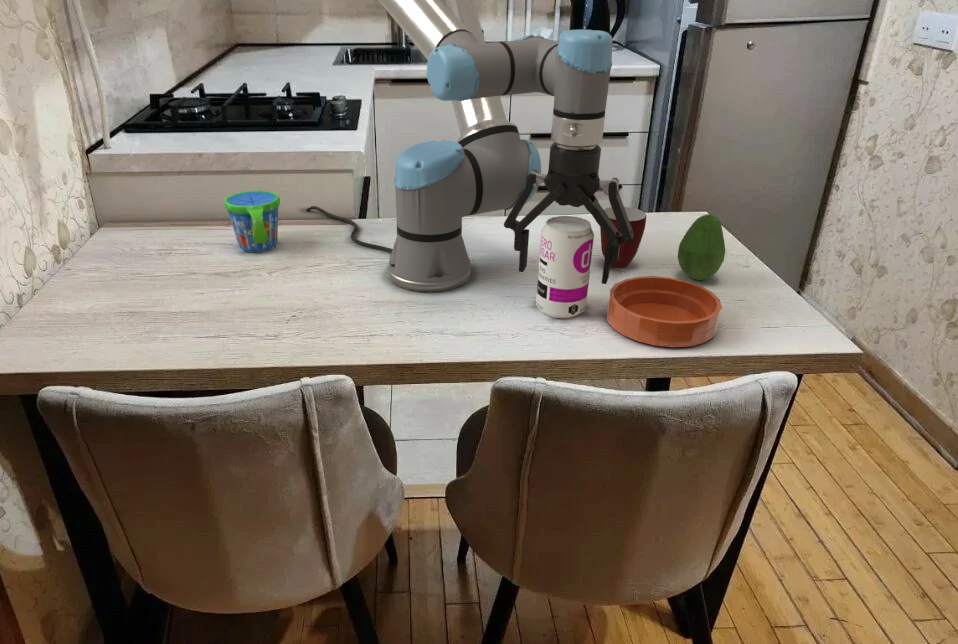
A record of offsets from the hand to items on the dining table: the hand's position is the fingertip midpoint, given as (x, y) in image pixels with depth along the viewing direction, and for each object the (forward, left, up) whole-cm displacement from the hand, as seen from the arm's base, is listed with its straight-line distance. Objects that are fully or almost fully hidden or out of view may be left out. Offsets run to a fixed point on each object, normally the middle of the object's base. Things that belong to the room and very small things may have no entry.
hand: (563, 275), depth 119 cm
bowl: (+16, +3, -6) cm, 17 cm away
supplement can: (0, 0, -6) cm, 6 cm away
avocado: (+17, +24, -6) cm, 30 cm away
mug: (+3, +22, -6) cm, 23 cm away
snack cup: (-63, -4, -6) cm, 63 cm away
